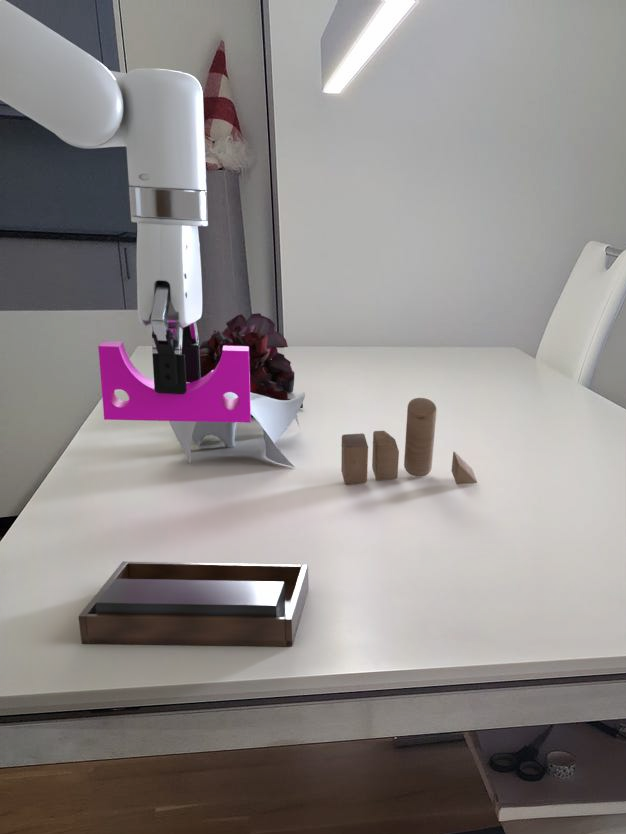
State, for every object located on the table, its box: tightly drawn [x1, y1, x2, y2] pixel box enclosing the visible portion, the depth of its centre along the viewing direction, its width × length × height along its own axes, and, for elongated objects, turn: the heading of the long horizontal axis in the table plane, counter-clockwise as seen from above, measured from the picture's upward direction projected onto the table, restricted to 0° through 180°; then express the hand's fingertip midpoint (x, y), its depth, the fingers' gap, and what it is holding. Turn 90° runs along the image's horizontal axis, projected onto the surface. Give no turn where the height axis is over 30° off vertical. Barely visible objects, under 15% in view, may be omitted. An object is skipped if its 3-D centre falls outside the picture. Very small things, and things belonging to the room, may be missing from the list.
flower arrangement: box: [199, 312, 304, 418], centre depth 187 cm, size 31×20×15 cm, turn 13°
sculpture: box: [168, 392, 306, 468], centre depth 154 cm, size 25×19×10 cm
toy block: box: [97, 340, 252, 424], centre depth 111 cm, size 15×6×8 cm, turn 101°
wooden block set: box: [340, 397, 478, 485], centre depth 140 cm, size 18×9×10 cm, turn 105°
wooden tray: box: [77, 561, 310, 647], centre depth 94 cm, size 18×14×4 cm
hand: (178, 386), depth 111 cm, fingers closed on toy block, 6 cm apart
